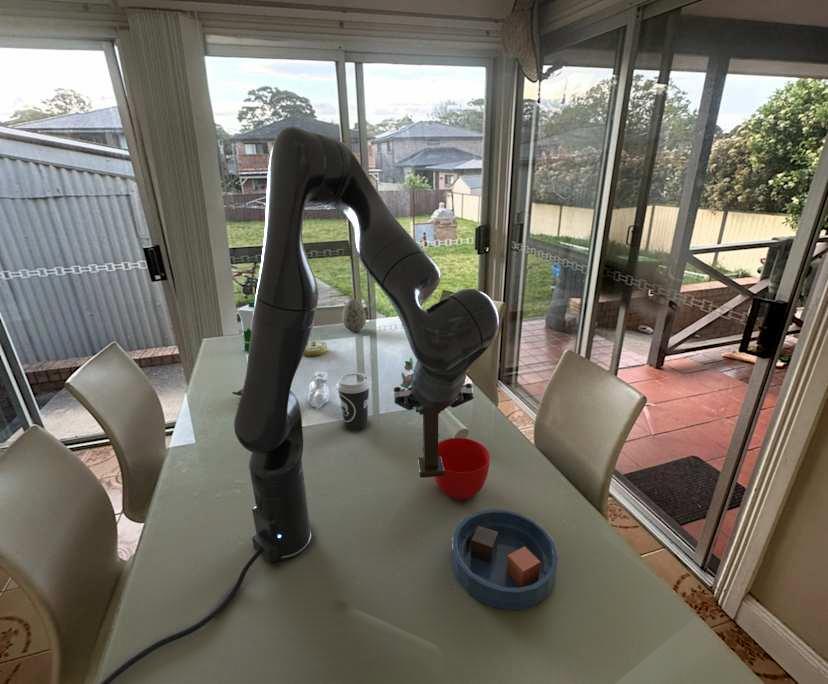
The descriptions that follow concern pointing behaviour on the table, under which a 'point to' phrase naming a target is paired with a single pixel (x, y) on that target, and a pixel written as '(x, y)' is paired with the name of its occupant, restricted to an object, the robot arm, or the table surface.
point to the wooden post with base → (430, 446)
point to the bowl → (503, 560)
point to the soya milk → (247, 322)
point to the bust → (318, 390)
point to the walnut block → (484, 544)
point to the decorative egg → (354, 315)
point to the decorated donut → (315, 348)
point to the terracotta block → (523, 567)
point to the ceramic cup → (462, 467)
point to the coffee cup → (354, 400)
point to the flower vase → (445, 416)
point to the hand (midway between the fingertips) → (429, 408)
